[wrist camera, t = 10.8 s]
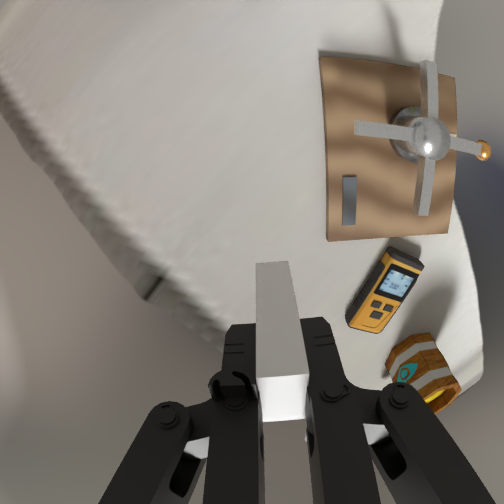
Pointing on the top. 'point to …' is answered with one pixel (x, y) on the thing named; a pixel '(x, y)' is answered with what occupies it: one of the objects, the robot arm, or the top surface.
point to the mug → (424, 370)
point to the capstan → (422, 137)
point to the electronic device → (384, 291)
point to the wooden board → (379, 152)
